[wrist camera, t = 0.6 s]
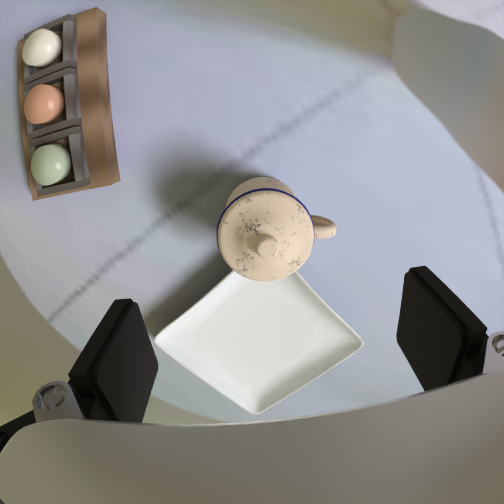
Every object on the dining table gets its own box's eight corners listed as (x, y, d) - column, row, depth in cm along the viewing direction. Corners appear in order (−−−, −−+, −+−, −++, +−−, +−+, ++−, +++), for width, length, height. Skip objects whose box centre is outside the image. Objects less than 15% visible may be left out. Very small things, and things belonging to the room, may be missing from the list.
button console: (31, 44, 28) (9, 39, 23) (106, 13, 27) (88, 2, 23) (45, 195, 36) (24, 205, 31) (120, 180, 36) (103, 188, 31)
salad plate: (265, 230, 38) (267, 240, 35) (361, 331, 45) (367, 345, 41) (154, 327, 44) (148, 342, 41) (255, 401, 50) (255, 417, 47)
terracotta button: (34, 92, 27) (22, 91, 25) (63, 80, 27) (52, 79, 24) (37, 127, 28) (25, 128, 26) (66, 117, 28) (55, 117, 26)
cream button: (33, 40, 24) (22, 37, 22) (62, 27, 24) (52, 23, 22) (33, 72, 26) (22, 70, 24) (62, 60, 26) (51, 57, 23)
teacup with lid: (223, 248, 39) (214, 296, 28) (223, 173, 36) (212, 195, 25) (321, 249, 39) (346, 296, 29) (327, 176, 36) (359, 199, 25)
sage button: (39, 148, 29) (28, 150, 27) (68, 139, 29) (57, 141, 27) (45, 184, 31) (34, 188, 29) (74, 177, 31) (64, 181, 29)
